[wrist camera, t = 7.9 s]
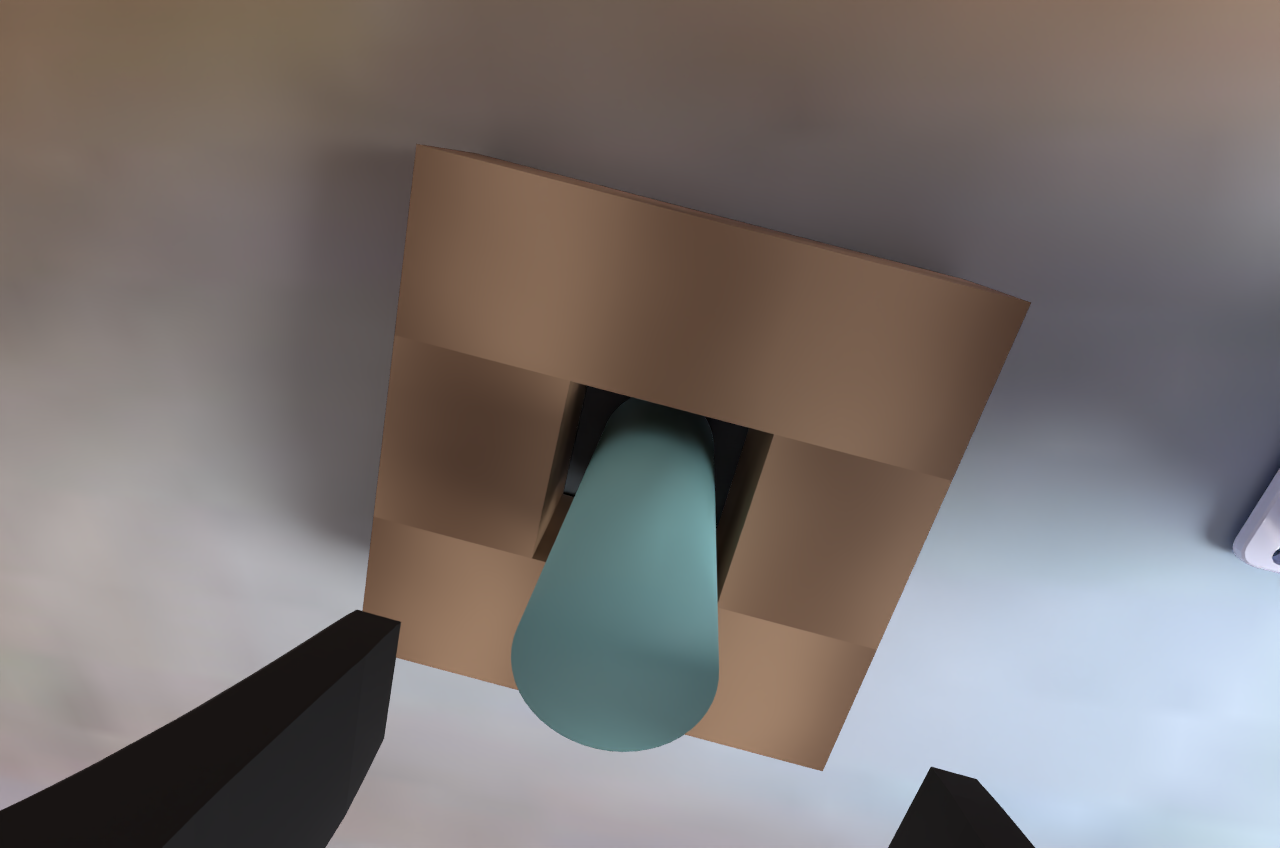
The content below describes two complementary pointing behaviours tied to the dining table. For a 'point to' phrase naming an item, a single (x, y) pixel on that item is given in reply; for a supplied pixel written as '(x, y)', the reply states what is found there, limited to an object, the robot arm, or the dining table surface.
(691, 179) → the dining table surface
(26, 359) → the dining table surface
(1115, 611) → the dining table surface
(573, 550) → the peg
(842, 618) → the socket block
